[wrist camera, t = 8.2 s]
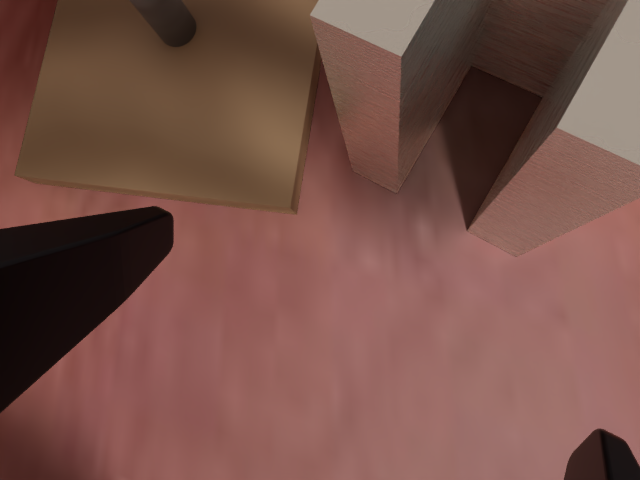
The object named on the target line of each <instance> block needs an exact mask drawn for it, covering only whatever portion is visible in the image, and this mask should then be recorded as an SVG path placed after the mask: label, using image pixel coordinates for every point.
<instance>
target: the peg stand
mask: <svg viewBox="0 0 640 480" xmlns="http://www.w3.org/2000/svg"><path fill="white" fill-rule="evenodd" d="M318 1H319V0H58V1H57V5H56V9H55V13H54V17H53V21H52V25H51V30H50V34H49V38H48V42H47V46H46V50H45V54H44V58H43V62H42V66H41V70H40V74H39V78H38V82H37V86H36V90H35V94H34V98H33V102H32V106H31V110H30V114H29V118H28V122H27V126H26V130H25V134H24V138H23V142H22V147H21V151H20V155H19V159H18V163H17V167H16V171H15V176H17V177H20V178H23V179H26V180H28V181H31V182H34V183H38V184H46V185H54V186H63V187H71V188H79V189H88V190H96V191H104V192H113V193H121V194H129V195H138V196H146V197H154V198H163V199H171V200H179V201H188V202H196V203H204V204H213V205H221V206H229V207H238V208H246V209H254V210H263V211H271V212H279V213H288V214H296V215H297V209H298V203H299V197H300V191H301V184H302V178H303V172H304V166H305V160H306V153H307V147H308V141H309V135H310V129H311V122H312V116H313V110H314V104H315V98H316V91H317V85H318V79H319V73H320V66H321V60H322V58H321V54H320V50H319V47H318V43H317V40H316V36H315V32H314V29H313V25H312V21H311V18H310V14H311V12H312V10H313V9H314V7H315V6H316V4H317V2H318Z"/></svg>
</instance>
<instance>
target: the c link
mask: <svg viewBox="0 0 640 480" xmlns="http://www.w3.org/2000/svg"><path fill="white" fill-rule="evenodd" d="M310 18H311V21H312V25H313V29H314V32H315V36H316V40H317V43H318V47H319V50H320V54H321V58H322V61H323V65H324V69H325V72H326V76H327V79H328V83H329V87H330V90H331V94H332V98H333V101H334V105H335V108H336V112H337V116H338V119H339V123H340V127H341V130H342V134H343V137H344V141H345V145H346V148H347V152H348V156H349V159H350V163H351V166H352V170H353V171H354V172H356V173H358V174H360V175H361V176H363V177H365V178H367V179H369V180H371V181H373V182H375V183H377V184H379V185H380V186H382V187H384V188H386V189H388V190H390V191H392V192H394V193H396V194H397V193H398V191H399V190H400V188H401V186H402V184H403V183H404V181H405V179H406V178H407V176H408V174H409V172H410V171H411V169H412V167H413V165H414V164H415V162H416V160H417V159H418V157H419V155H420V153H421V152H422V150H423V148H424V147H425V145H426V143H427V141H428V140H429V138H430V136H431V135H432V133H433V131H434V129H435V128H436V126H437V124H438V122H439V121H440V119H441V117H442V116H443V114H444V112H445V110H446V109H447V107H448V105H449V104H450V102H451V100H452V98H453V97H454V95H455V93H456V91H457V90H458V88H459V86H460V85H461V83H462V81H463V79H464V78H465V76H466V74H467V73H468V71H469V69H470V67H471V66H473V67H475V68H478V69H480V70H482V71H484V72H487V73H489V74H491V75H493V76H496V77H498V78H500V79H502V80H505V81H507V82H509V83H511V84H514V85H516V86H518V87H520V88H523V89H525V90H527V91H529V92H532V93H534V94H536V95H538V96H541V97H543V98H542V100H541V101H540V103H539V105H538V107H537V108H536V110H535V112H534V114H533V115H532V117H531V119H530V121H529V122H528V124H527V126H526V128H525V130H524V131H523V133H522V135H521V137H520V138H519V140H518V142H517V144H516V145H515V147H514V149H513V151H512V152H511V154H510V156H509V158H508V159H507V161H506V163H505V165H504V167H503V168H502V170H501V172H500V174H499V175H498V177H497V179H496V181H495V182H494V184H493V186H492V188H491V189H490V191H489V193H488V195H487V197H486V198H485V200H484V202H483V204H482V205H481V207H480V209H479V211H478V212H477V214H476V216H475V218H474V219H473V221H472V223H471V225H470V226H469V228H468V230H467V231H468V232H470V233H472V234H474V235H476V236H477V237H479V238H481V239H483V240H485V241H487V242H489V243H491V244H493V245H495V246H496V247H498V248H500V249H502V250H504V251H506V252H508V253H510V254H512V255H514V256H515V257H518V256H520V255H522V254H524V253H526V252H528V251H530V250H532V249H534V248H536V247H538V246H540V245H543V244H545V243H547V242H549V241H551V240H553V239H555V238H557V237H559V236H561V235H563V234H565V233H568V232H570V231H572V230H574V229H576V228H578V227H580V226H582V225H584V224H586V223H588V222H590V221H592V220H595V219H597V218H599V217H601V216H603V215H605V214H607V213H609V212H611V211H613V210H615V209H617V208H619V207H622V206H624V205H626V204H628V203H630V202H632V201H634V200H636V199H638V198H640V0H319V1H318V2H317V4H316V6H315V7H314V9H313V10H312V12H311V14H310Z"/></svg>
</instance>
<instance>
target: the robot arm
mask: <svg viewBox="0 0 640 480" xmlns="http://www.w3.org/2000/svg"><path fill="white" fill-rule="evenodd" d="M173 242H174V220H173V216H172V214H171V213H170V212H168V211H166V210H164V209H162V208H160V207H157V206H152V207H145V208H139V209H132V210H125V211H119V212H112V213H105V214H98V215H92V216H85V217H78V218H72V219H65V220H58V221H51V222H45V223H38V224H31V225H25V226H18V227H11V228H4V229H0V413H1V412H2V411H3V410H4V409H5V408H7V407H8V406H9V405H10V404H11V403H12V402H13V401H14V400H16V399H17V398H18V397H19V396H20V395H21V394H22V393H23V392H24V391H26V390H27V389H28V388H29V387H30V386H31V385H32V384H33V383H35V382H36V381H37V380H38V379H39V378H40V377H41V376H42V375H43V374H45V373H46V372H47V371H48V370H49V369H50V368H51V367H52V366H53V365H55V364H56V363H57V362H58V361H59V360H60V359H61V358H62V357H64V356H65V355H66V354H67V353H68V352H69V351H70V350H71V349H72V348H74V347H75V346H76V345H77V344H78V343H79V342H80V341H81V340H83V339H84V338H85V337H86V336H87V335H88V334H89V333H90V332H91V331H93V330H94V329H95V328H96V327H97V326H98V325H99V324H100V323H102V322H103V321H104V320H105V319H106V318H107V317H108V316H109V315H110V314H112V313H113V312H114V311H115V310H116V309H117V308H118V307H119V306H120V305H121V304H122V303H124V302H125V301H126V300H127V299H128V298H129V296H130V295H131V294H132V293H133V292H134V291H135V290H136V289H137V288H138V287H139V286H140V285H141V284H142V282H143V281H144V280H145V279H146V278H147V277H148V276H149V275H150V274H151V273H152V271H153V270H154V269H155V268H156V267H157V266H158V265H159V264H160V263H161V261H162V260H163V259H164V258H165V257H166V256H167V255H168V254H169V252H170V251H171V249H172V247H173ZM564 480H640V466H639V464H638V463H637V461H636V459H635V457H634V455H633V453H632V451H631V450H630V448H629V446H628V444H627V443H626V442H625V441H624V440H623V439H622V438H620V437H618V436H616V435H614V434H612V433H610V432H608V431H606V430H604V429H596V430H594V431H593V432H592V433H591V434H590V435H589V436H588V437H587V438H586V439H585V440H584V441H583V442H582V443H581V444H580V446H579V447H578V448H577V449H576V450H575V451H574V452H573V453H572V455H571V456H570V458H569V461H568V464H567V468H566V472H565V477H564Z"/></svg>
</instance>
